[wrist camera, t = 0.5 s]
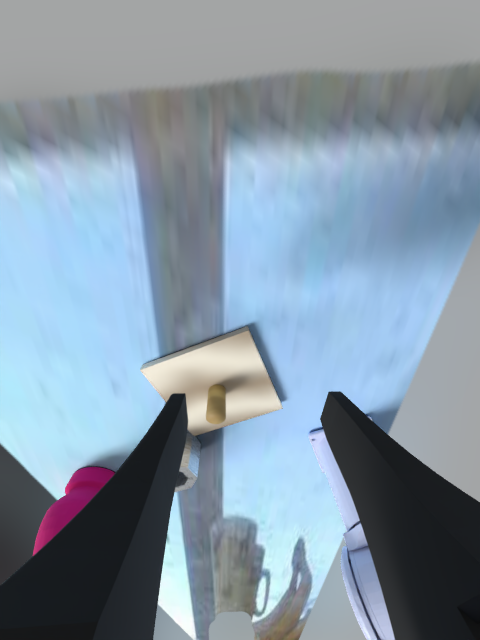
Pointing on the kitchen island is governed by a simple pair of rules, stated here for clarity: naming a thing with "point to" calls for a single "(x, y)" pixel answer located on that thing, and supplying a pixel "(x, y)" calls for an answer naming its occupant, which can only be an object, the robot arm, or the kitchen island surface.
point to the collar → (189, 463)
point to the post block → (216, 381)
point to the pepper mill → (71, 502)
